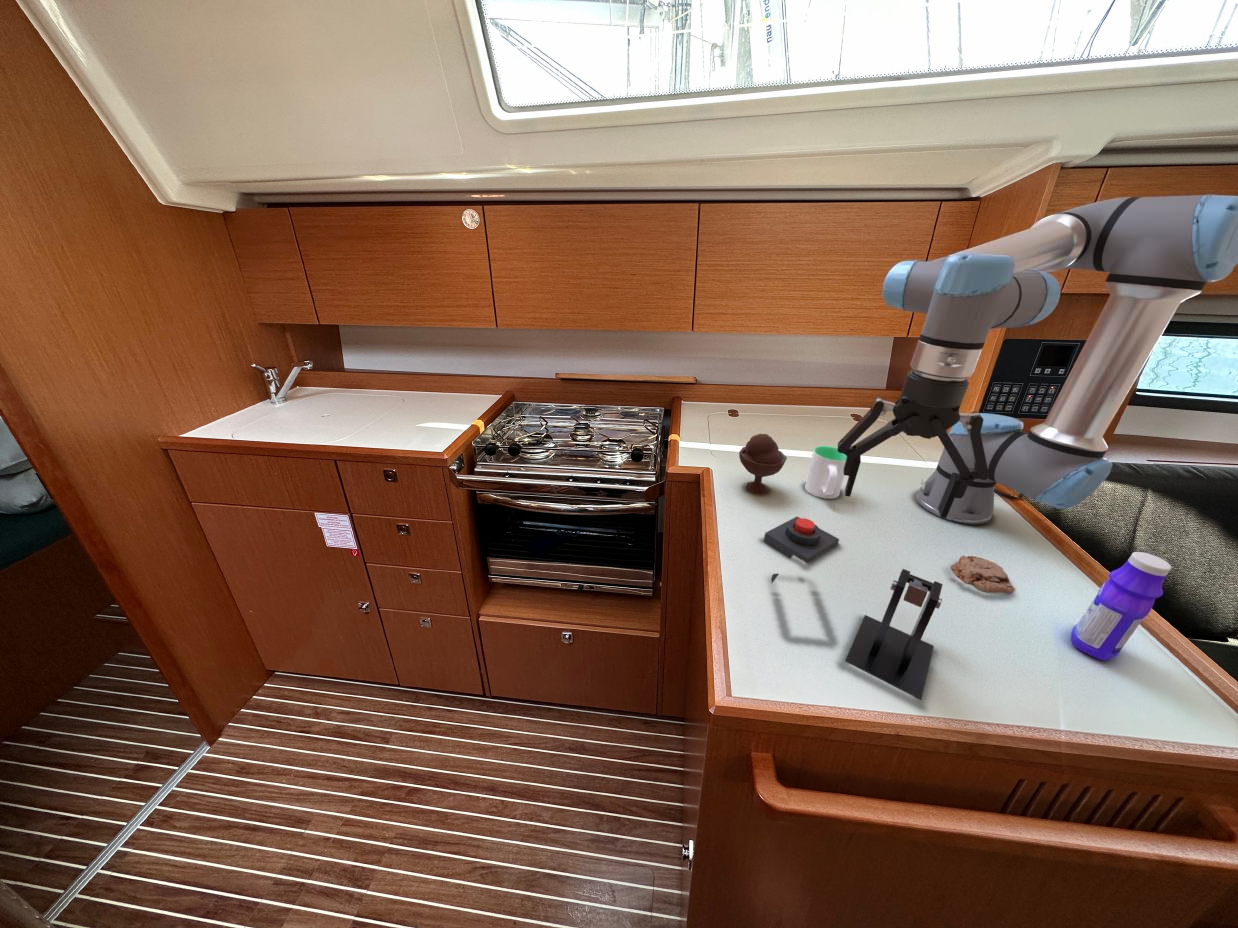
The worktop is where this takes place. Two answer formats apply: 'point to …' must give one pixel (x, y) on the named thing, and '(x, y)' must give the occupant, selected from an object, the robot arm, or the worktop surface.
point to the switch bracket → (896, 644)
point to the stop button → (804, 526)
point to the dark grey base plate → (799, 541)
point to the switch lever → (917, 590)
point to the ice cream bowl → (761, 460)
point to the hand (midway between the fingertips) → (893, 502)
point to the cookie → (982, 574)
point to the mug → (826, 472)
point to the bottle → (1120, 606)
